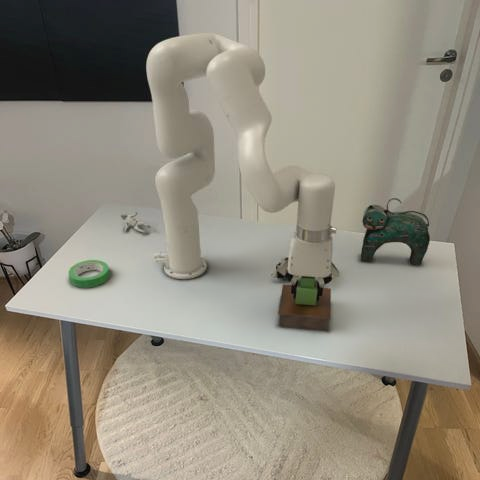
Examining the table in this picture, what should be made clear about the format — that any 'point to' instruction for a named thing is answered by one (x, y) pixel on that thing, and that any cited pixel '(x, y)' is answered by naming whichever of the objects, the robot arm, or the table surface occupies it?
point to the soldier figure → (134, 222)
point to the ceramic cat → (394, 232)
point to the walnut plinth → (304, 311)
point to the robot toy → (280, 276)
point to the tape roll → (92, 280)
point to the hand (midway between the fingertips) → (306, 295)
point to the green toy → (306, 290)
